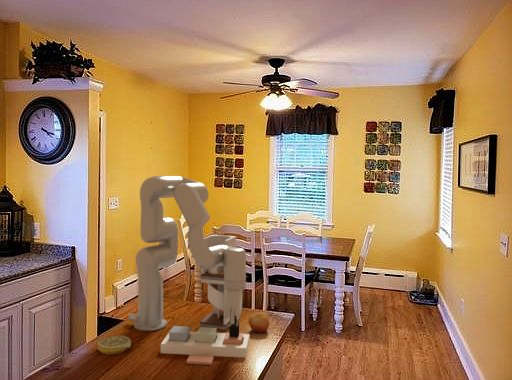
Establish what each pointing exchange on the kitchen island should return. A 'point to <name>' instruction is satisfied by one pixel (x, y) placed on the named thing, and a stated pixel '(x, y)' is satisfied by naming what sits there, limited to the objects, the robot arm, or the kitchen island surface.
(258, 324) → the fruit
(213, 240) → the tiered shelf stand
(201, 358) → the tile
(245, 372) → the kitchen island surface
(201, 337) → the key sage
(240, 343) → the key terracotta
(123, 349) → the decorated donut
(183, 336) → the key slate blue
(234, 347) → the keypad board
